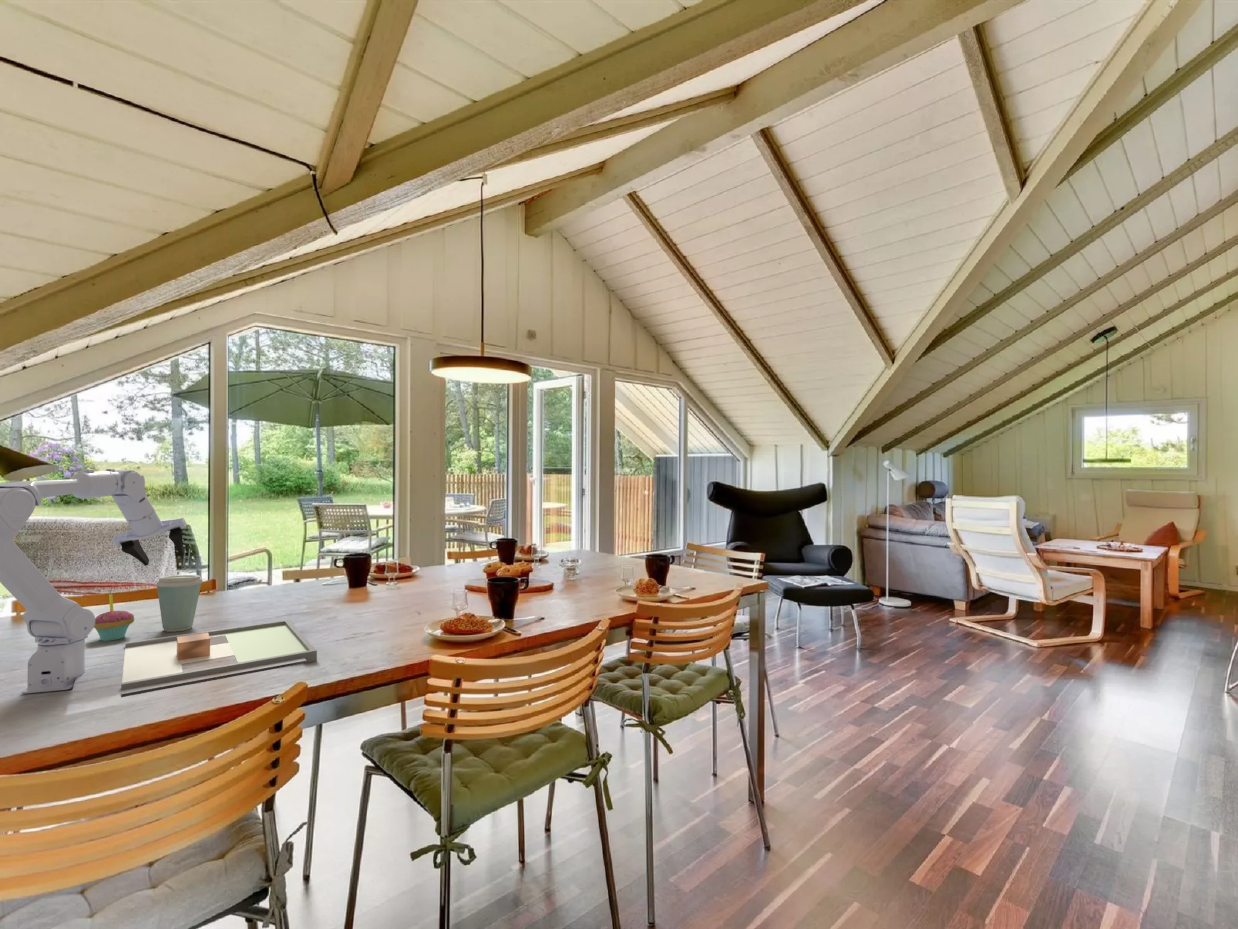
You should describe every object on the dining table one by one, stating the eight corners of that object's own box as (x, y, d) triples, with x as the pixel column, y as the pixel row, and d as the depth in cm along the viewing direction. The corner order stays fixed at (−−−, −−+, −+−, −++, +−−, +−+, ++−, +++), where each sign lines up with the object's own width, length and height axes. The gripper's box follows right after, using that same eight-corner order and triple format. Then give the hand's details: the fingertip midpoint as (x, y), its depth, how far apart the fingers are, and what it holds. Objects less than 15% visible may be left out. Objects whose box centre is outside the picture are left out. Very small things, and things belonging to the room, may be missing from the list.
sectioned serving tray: (121, 697, 117) (121, 684, 117) (125, 652, 143) (125, 642, 143) (316, 661, 139) (316, 650, 139) (288, 628, 165) (288, 619, 165)
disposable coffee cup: (163, 625, 167) (163, 572, 167) (207, 622, 171) (208, 570, 171) (148, 635, 157) (149, 579, 157) (196, 632, 161) (196, 577, 161)
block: (177, 660, 134) (178, 643, 134) (176, 654, 138) (176, 636, 138) (210, 655, 137) (210, 638, 137) (207, 649, 142) (207, 632, 142)
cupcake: (85, 639, 153) (85, 593, 153) (124, 631, 161) (125, 587, 161) (101, 644, 149) (101, 597, 149) (140, 636, 157) (141, 591, 157)
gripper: (177, 497, 147) (199, 540, 154) (106, 515, 142) (133, 558, 149) (173, 511, 142) (197, 555, 149) (100, 530, 136) (128, 575, 143)
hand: (165, 558), depth 148 cm, fingers open, 7 cm apart
